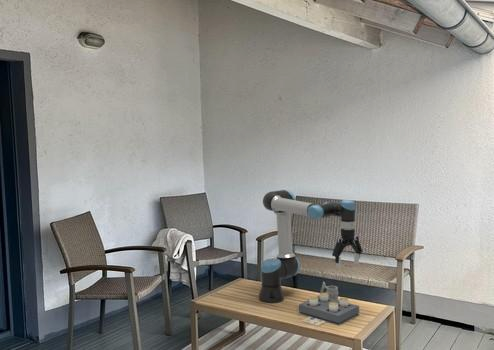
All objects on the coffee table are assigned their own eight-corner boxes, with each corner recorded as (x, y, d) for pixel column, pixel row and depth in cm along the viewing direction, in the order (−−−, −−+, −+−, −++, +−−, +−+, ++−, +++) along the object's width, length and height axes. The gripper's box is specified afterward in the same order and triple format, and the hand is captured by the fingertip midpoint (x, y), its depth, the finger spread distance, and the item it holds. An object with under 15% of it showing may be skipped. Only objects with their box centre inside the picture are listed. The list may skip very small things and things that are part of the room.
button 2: (318, 302, 273) (318, 293, 273) (323, 300, 277) (323, 291, 276) (325, 304, 270) (325, 295, 269) (330, 302, 273) (330, 293, 273)
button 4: (337, 308, 264) (337, 298, 264) (342, 306, 268) (342, 296, 267) (345, 310, 261) (345, 300, 260) (350, 308, 264) (350, 298, 264)
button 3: (327, 313, 257) (327, 303, 257) (332, 310, 260) (332, 301, 260) (334, 315, 254) (334, 305, 253) (339, 312, 257) (339, 303, 257)
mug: (334, 307, 276) (334, 286, 275) (317, 302, 284) (316, 282, 283) (341, 303, 282) (341, 283, 281) (324, 299, 290) (324, 279, 289)
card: (302, 321, 255) (302, 320, 255) (310, 317, 260) (310, 316, 260) (317, 326, 248) (317, 324, 248) (325, 322, 253) (325, 321, 253)
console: (298, 313, 267) (298, 304, 267) (319, 304, 281) (319, 295, 281) (338, 325, 249) (338, 315, 249) (359, 314, 263) (359, 305, 263)
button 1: (307, 307, 266) (307, 298, 266) (312, 305, 269) (312, 296, 269) (314, 309, 263) (314, 300, 262) (319, 307, 266) (319, 298, 266)
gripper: (335, 232, 254) (334, 271, 255) (369, 227, 267) (368, 265, 269) (325, 230, 260) (325, 268, 262) (359, 225, 273) (359, 262, 275)
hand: (347, 266), depth 265 cm, fingers open, 13 cm apart
